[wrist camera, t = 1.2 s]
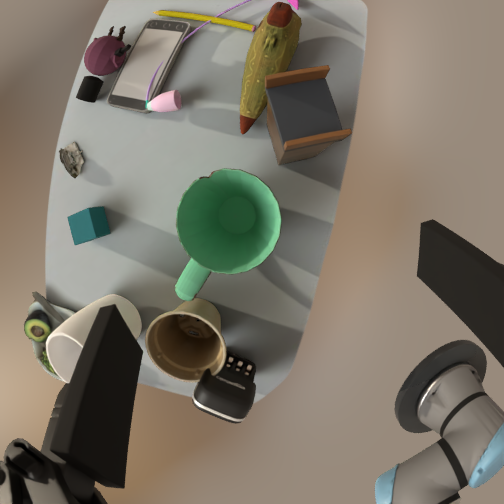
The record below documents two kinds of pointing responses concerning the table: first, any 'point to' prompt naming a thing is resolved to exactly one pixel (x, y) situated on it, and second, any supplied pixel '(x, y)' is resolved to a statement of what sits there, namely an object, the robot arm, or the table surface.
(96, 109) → the table surface
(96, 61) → the figurine
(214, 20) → the pencil
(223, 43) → the table surface
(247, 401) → the battery charger
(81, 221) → the teal cube
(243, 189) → the mug
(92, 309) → the cup
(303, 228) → the table surface
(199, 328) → the flower pot
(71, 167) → the grey jagged fragment
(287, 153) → the wooden tower block
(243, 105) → the ocarina
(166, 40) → the smartphone
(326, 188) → the table surface
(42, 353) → the salad plate
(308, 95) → the base
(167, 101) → the earplug
